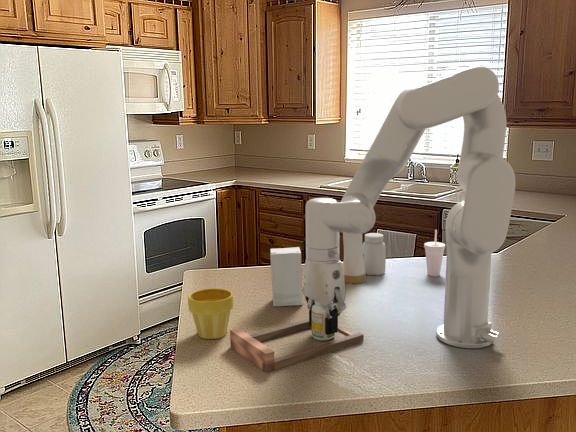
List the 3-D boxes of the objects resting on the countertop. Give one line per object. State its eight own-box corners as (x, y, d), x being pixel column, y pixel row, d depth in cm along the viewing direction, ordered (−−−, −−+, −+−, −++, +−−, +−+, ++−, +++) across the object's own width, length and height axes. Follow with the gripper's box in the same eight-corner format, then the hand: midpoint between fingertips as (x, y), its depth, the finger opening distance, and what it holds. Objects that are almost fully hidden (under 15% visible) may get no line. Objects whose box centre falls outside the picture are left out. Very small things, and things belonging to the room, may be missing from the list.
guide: (363, 341, 131) (363, 324, 130) (266, 372, 116) (265, 353, 115) (323, 320, 143) (323, 305, 142) (230, 346, 128) (230, 330, 128)
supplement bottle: (313, 341, 130) (313, 301, 129) (310, 332, 136) (309, 293, 134) (336, 340, 131) (336, 300, 129) (332, 331, 136) (332, 292, 134)
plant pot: (204, 323, 142) (202, 285, 140) (241, 328, 138) (240, 290, 136) (181, 339, 133) (179, 298, 131) (220, 345, 129) (219, 304, 127)
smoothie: (446, 273, 180) (448, 229, 177) (440, 278, 174) (442, 233, 172) (427, 270, 183) (428, 227, 180) (420, 275, 178) (421, 231, 175)
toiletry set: (370, 268, 187) (371, 205, 183) (390, 272, 182) (391, 208, 177) (319, 286, 169) (319, 217, 165) (339, 291, 164) (340, 221, 160)
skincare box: (301, 298, 159) (301, 246, 156) (303, 306, 153) (302, 252, 150) (271, 299, 158) (270, 247, 156) (271, 307, 153) (270, 253, 150)
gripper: (360, 258, 124) (360, 337, 128) (313, 243, 138) (314, 314, 142) (333, 264, 120) (333, 345, 124) (287, 248, 134) (289, 321, 138)
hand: (323, 328), depth 133 cm, fingers closed on supplement bottle, 5 cm apart
